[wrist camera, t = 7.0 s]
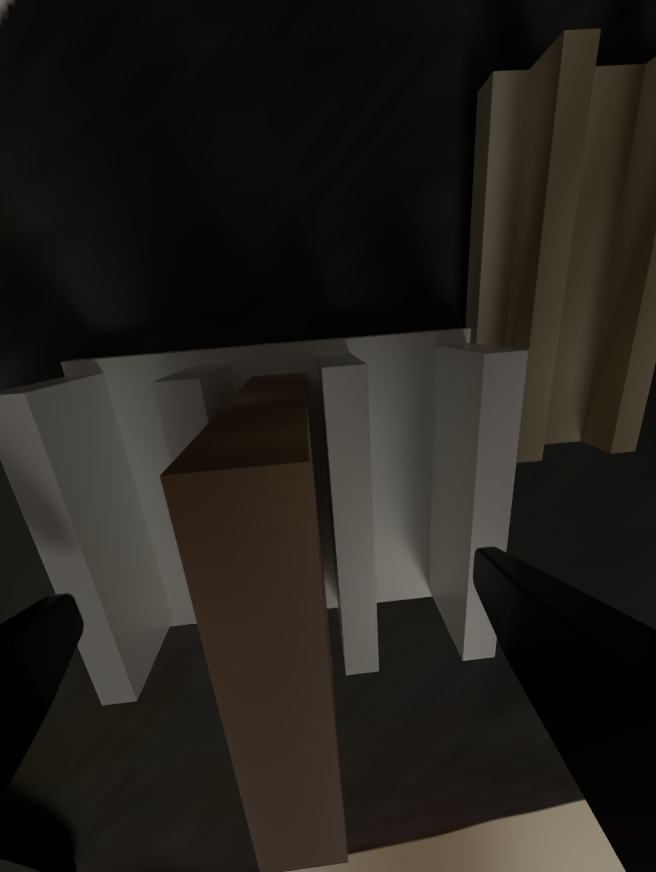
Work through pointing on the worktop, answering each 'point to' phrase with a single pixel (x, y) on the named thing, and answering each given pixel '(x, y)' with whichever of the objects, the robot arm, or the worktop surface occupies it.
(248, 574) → the board
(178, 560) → the rack
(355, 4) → the worktop surface
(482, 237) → the stand
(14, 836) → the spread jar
